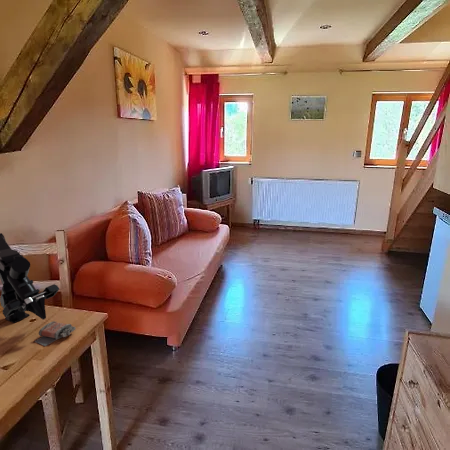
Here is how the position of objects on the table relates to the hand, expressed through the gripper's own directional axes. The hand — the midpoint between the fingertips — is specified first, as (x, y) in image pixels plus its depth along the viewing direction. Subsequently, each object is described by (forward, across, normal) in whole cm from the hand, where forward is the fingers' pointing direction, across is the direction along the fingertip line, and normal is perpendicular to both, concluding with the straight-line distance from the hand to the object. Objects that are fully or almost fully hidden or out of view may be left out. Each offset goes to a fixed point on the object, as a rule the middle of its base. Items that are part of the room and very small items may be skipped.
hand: (44, 318), depth 122 cm
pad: (+6, -1, -4) cm, 8 cm away
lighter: (+2, -2, -6) cm, 6 cm away
